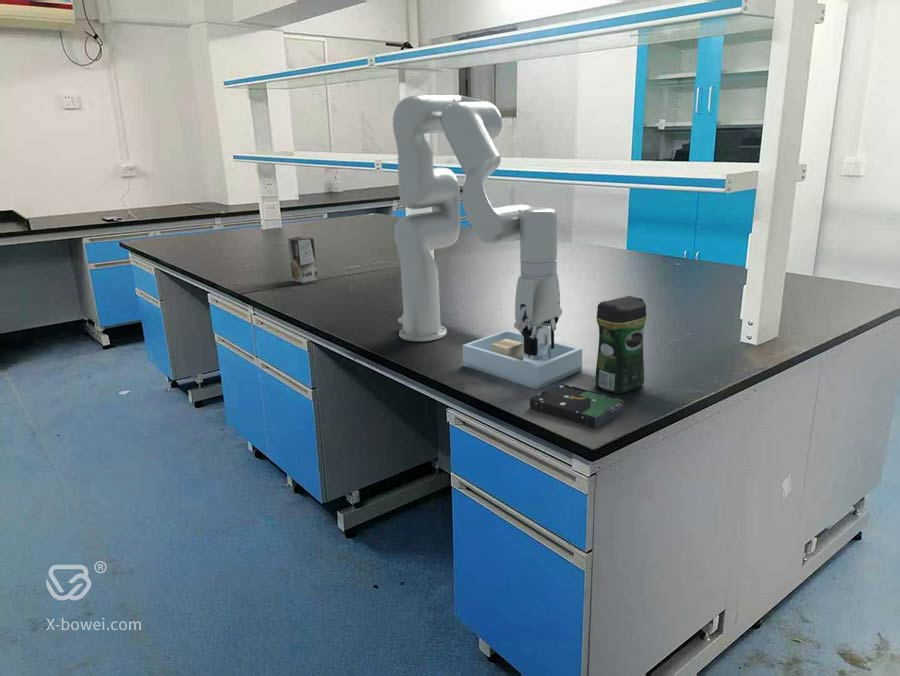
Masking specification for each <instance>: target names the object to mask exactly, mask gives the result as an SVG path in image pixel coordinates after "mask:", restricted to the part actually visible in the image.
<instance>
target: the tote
mask: <svg viewBox="0 0 900 676" xmlns="http://www.w3.org/2000/svg"><path fill="white" fill-rule="evenodd" d="M504 339H509V340H513V341H517V342H521V343H523V360H519V359H516V358H512V357H509V356H505V355H502V354H499V353H495V352H492V351H491V344H492V343H495V342H498V341H501V340H504ZM461 347H462V365H463V367H466V368H468V369H472V370H475V371H478V372H481V373H484V374H487V375H491V376H493V377H497V378H499V379H502V380H506V381H510V382H512V383H515V384H518V385H521V386H524V387H527V388H531V389H533V390H537V391H539V390H541V389H544V388H546V387H548V386H550V385H552V384H555V383H556V382H559V381H561V380H563V379H565V378H567V377H570V376H572V375H574V374H576V373H579V372H582V371H583V348H582V347H577V346H574V345H570V344H566V343H562V342H559V341H558V342H557V341H554V349H551V358H550V359H547V360H532V359H529V358H528V354H525V353H524V337H523V336H522V334H521V333H520V332H519V331H518V332H517V331H514V330H510V329H505V330H503V331H500V332H497V333H494V334H491V335H487V336H485V337H482V338H479V339H477V340H473V341H470V342H468V343H465V344H462V346H461Z"/></svg>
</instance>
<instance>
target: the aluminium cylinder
mask: <svg viewBox="0 0 900 676" xmlns="http://www.w3.org/2000/svg"><path fill="white" fill-rule="evenodd" d="M528 329H529V330H531V326H529V325H528ZM535 338H537V355H536V356H532V355H528V358H529V359H532V360H547V359H550V358H551V325H550V324H548V323H543V322H542V323H539V324H537V328H536V333H535Z"/></svg>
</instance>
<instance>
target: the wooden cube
mask: <svg viewBox="0 0 900 676" xmlns="http://www.w3.org/2000/svg"><path fill="white" fill-rule="evenodd" d="M491 351H492V352H495V353H499V354H502V355H505V356H509V357H512V358H516V359H519V360H523V343H521V342H517V341H513V340H509V339H504V340H501V341H498V342H495V343H492V344H491Z"/></svg>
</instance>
